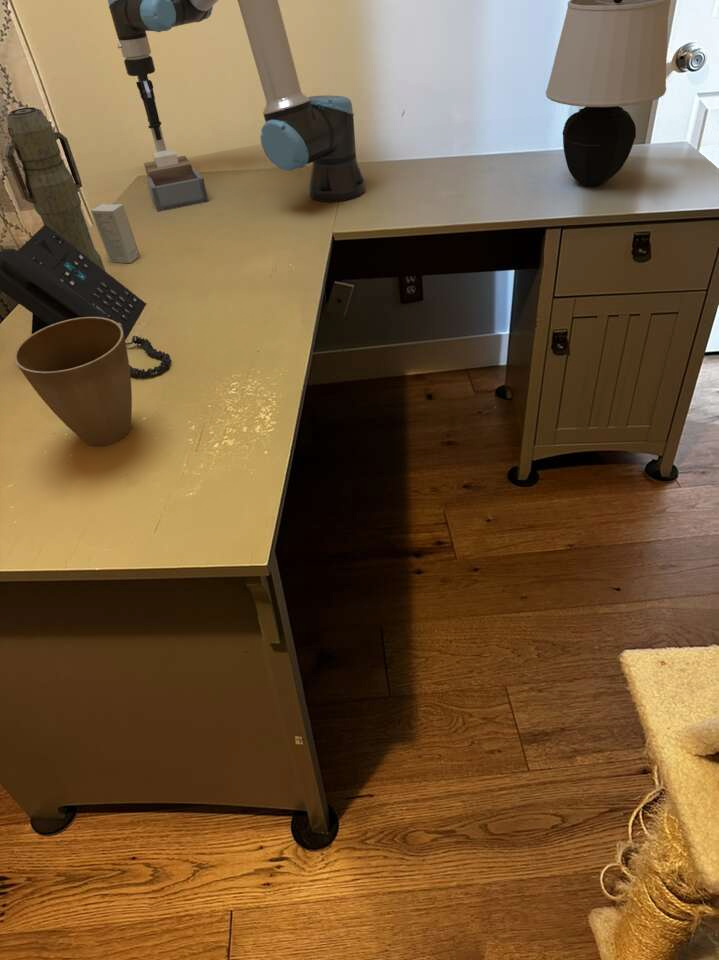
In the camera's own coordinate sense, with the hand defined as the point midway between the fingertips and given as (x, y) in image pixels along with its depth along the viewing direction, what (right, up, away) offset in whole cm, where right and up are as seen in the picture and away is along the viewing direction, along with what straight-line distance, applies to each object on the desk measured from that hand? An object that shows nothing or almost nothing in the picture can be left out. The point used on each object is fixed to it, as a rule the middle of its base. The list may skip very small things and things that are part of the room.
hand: (161, 151), depth 193 cm
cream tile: (+3, -6, -4) cm, 8 cm away
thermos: (-1, -55, -49) cm, 73 cm away
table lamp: (+117, -20, -24) cm, 121 cm away
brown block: (+4, -11, 0) cm, 12 cm away
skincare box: (+3, -45, -38) cm, 58 cm away
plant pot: (+18, -89, -90) cm, 128 cm away
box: (+8, -18, -9) cm, 22 cm away
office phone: (+11, -70, -67) cm, 98 cm away
